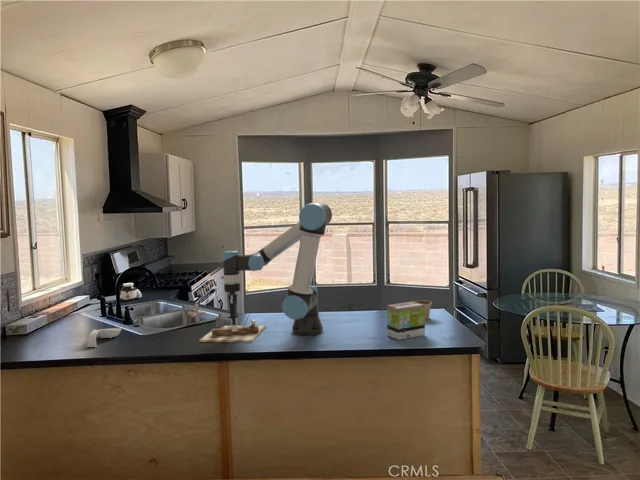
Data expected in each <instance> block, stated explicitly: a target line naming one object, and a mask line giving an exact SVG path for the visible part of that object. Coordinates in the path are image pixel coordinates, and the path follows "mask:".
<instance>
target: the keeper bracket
mask: <svg viewBox="0 0 640 480" xmlns="http://www.w3.org/2000/svg"><path fill="white" fill-rule="evenodd" d="M225 323H229V324H231V319H229V317H226V316H225V317H224V316H218V317H215V328H216V327H218V328H221V327H224V326H225Z"/></svg>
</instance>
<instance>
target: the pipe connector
mask: <svg viewBox="0 0 640 480" xmlns="http://www.w3.org/2000/svg"><path fill="white" fill-rule="evenodd" d="M187 315H188V316H191V318H195V324H199V323H200V316H206V315H207V312H206V311H203V310H202V309H200V310H199V304H194V311H187ZM198 322H199V323H198Z"/></svg>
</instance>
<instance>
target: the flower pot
mask: <svg viewBox="0 0 640 480" xmlns="http://www.w3.org/2000/svg"><path fill="white" fill-rule="evenodd" d="M414 302H415V303H419V304H422V305H425V320H428V319H430V314H431V313H430V312H431V306H432V305H433V302H432V301H430V300H416V301H414Z"/></svg>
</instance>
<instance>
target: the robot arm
mask: <svg viewBox="0 0 640 480" xmlns="http://www.w3.org/2000/svg"><path fill="white" fill-rule="evenodd" d="M332 218H333V212H332V209H331V208H330V206H329V205H328V204H326V203H324V202H310V203H309V202H308V204H306V205H304V206H303V207H302V208H301V209H300V211H299V215H298V220H299V221H298V222H297V223H295V224H294V225H293V226H291V227H290V228H288V229H287V230H285V231H284V232H283V233H282V234H281V235H280V234H279V236H277V237H276V238H274V239H273V240H272V241H270V243H268V244H267V245H265V246H264V247H263V248H261V249H260V250H258V251H257V252H254V253H251V254H239V251H238V250H226V251H223V253H222V268H223V269H222V270H223V276H222V279H223V284H224V285H223V286H224V287H223V289H224V292H225V293H229V294H228V295H227V296H228V297H227V298H228V305H229V317H228V318H229V319H231V323H230V326H231V328H232V332H234V331H238V328H237V326H238V318H239V315H238V294H237V293H236V292H239V291H241V283H240V282H241V280H240V279H241V276H240V272H243V271H244V272H245V271H246V272H247V271H248V272H250V271H252V272H256V271H257V272H258V271H261V270H263V268H264V267H266V266H267V265H268V264H270V262H272V261H273V260H274V259H275V258H277V257H278V256H280V255H281V254H282V253H284V252H285V251H287V250H288V249H289V248H291V247H292V246H294V245H296V243H298V242H299V248H298V253H297V258H296V264H295V268H294V272H293V273H294V274H293V279H292V284H291V285H289V286H288V288H287V292H286V297H285V298H284V300H283V302H282V305H281V306H282V312H283V314H285V316H286V317H287V318H288V319H291V320H293V322H292V327H291V332H292V334H294V335H296V336H301V337H302V336H303V337H306V336H307V337H308V336H309V337H310V336H316V335H319V334H321V333H323V332H324V331H323V330H324V329H323V327H324V326H323V323H322V321H321V319H320V316H319V292H318V287H317V286H316V285H312V281H313V277H314V272H315V266H316V261H317V256H318V251H319V247H320V246H319V245H320V240H321V238H322V237H324V235H325V233H326V228H327V226H328V225H329V224H330V222H331V221H332Z"/></svg>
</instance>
